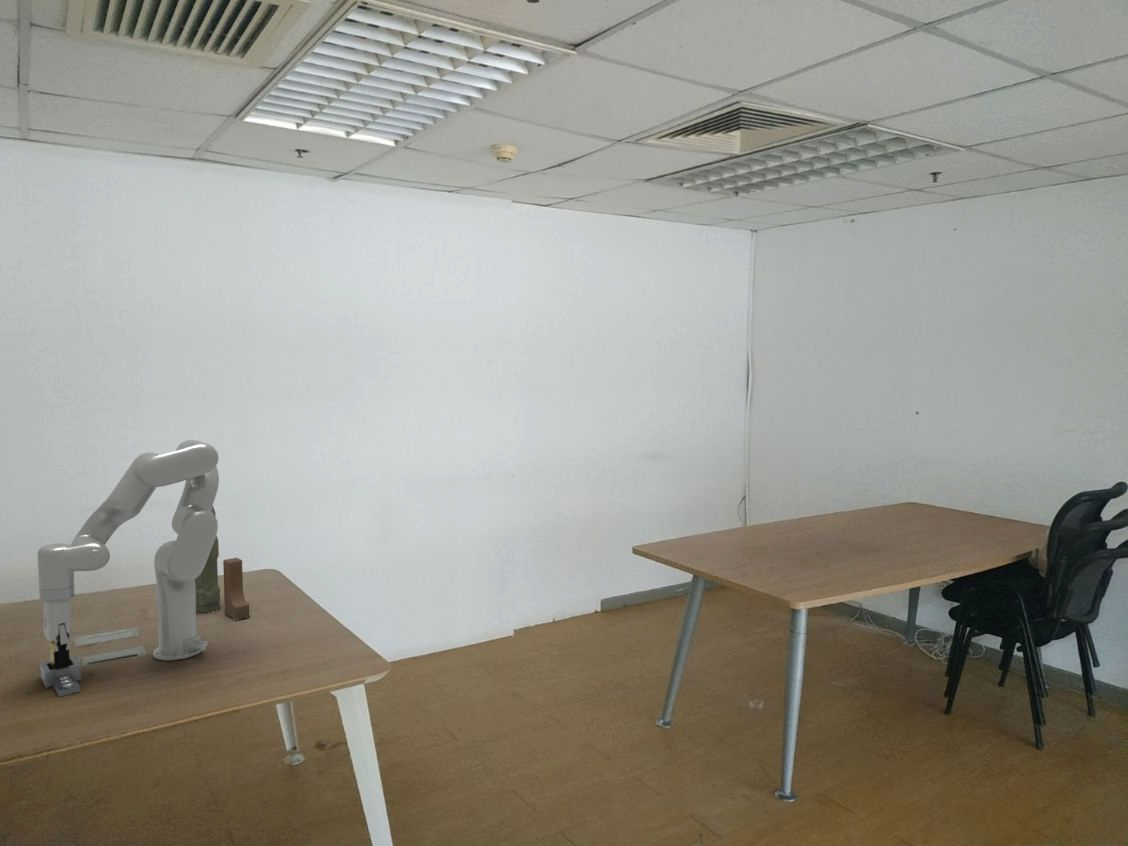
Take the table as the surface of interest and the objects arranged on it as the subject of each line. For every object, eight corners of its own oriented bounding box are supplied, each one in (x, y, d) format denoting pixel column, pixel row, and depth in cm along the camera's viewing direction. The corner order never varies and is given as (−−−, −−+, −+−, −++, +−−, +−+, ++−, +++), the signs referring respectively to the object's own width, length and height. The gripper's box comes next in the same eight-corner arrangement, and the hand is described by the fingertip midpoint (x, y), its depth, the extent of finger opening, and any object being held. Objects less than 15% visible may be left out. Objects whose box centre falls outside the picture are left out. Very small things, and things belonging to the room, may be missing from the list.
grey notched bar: (87, 690, 192) (86, 674, 191) (51, 698, 187) (50, 682, 186) (69, 661, 209) (69, 647, 209) (36, 669, 204) (35, 654, 204)
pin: (76, 670, 200) (75, 632, 199) (60, 677, 195) (58, 639, 194) (61, 668, 201) (59, 630, 200) (43, 675, 196) (42, 637, 195)
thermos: (198, 616, 246) (194, 508, 243) (185, 608, 255) (182, 503, 252) (226, 610, 252) (223, 505, 250) (212, 602, 261) (210, 500, 258)
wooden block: (250, 617, 246) (248, 562, 244) (235, 621, 243) (234, 565, 241) (238, 611, 252) (236, 557, 251) (224, 614, 249) (222, 559, 248)
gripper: (34, 588, 200) (37, 656, 201) (44, 603, 187) (48, 677, 189) (68, 582, 205) (71, 650, 206) (80, 597, 192) (84, 669, 194)
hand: (60, 662), depth 198 cm, fingers closed on pin, 3 cm apart
